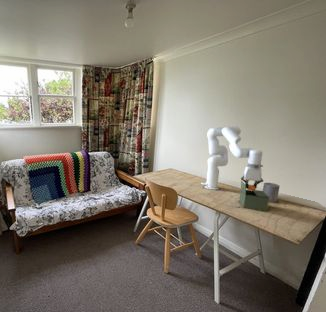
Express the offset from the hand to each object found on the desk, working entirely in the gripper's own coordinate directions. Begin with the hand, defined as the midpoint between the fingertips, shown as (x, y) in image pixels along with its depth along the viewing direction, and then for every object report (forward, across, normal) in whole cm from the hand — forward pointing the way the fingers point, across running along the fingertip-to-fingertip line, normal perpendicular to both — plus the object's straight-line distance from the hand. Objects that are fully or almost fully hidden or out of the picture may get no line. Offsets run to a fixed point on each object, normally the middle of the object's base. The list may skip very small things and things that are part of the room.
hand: (250, 188), depth 148 cm
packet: (+1, 0, 0) cm, 1 cm away
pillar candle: (+14, -19, -19) cm, 31 cm away
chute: (+14, -3, 0) cm, 15 cm away
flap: (0, +4, 0) cm, 4 cm away
